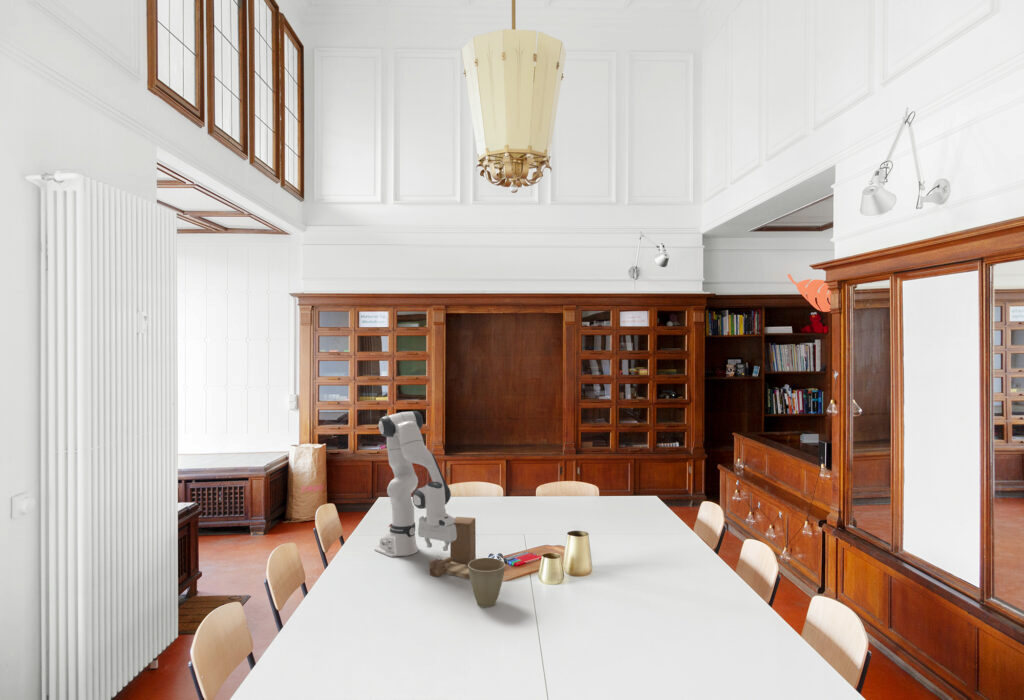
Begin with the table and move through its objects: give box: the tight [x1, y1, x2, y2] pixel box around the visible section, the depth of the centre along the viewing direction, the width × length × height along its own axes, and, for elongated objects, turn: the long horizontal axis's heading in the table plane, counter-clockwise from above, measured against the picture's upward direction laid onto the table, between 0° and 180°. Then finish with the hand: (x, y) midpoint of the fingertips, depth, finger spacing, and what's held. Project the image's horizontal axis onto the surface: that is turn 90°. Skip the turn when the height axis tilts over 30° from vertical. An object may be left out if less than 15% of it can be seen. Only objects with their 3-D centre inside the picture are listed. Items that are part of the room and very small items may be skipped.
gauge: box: [428, 556, 453, 578], centre depth 278 cm, size 5×12×6 cm, turn 147°
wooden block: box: [449, 516, 477, 565], centre depth 291 cm, size 10×10×20 cm
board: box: [445, 562, 470, 580], centre depth 276 cm, size 24×9×2 cm, turn 57°
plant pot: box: [468, 557, 506, 608], centre depth 243 cm, size 15×15×16 cm
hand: (437, 548), depth 274 cm, fingers open, 8 cm apart
